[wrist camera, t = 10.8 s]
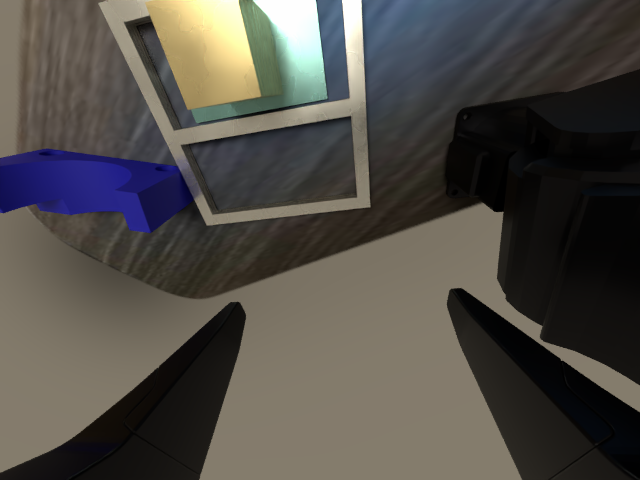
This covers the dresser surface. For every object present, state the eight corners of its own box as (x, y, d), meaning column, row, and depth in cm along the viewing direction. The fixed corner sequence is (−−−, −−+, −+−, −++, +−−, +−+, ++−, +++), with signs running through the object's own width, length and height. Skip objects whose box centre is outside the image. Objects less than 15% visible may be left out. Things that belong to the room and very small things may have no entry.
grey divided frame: (356, -61, 12) (358, -72, 11) (368, 202, 20) (370, 207, 19) (112, 8, 14) (98, 3, 13) (211, 220, 22) (206, 225, 21)
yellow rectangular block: (268, 16, 14) (232, -21, 9) (283, 94, 16) (261, 96, 11) (207, 30, 14) (144, 2, 10) (229, 103, 16) (187, 109, 12)
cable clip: (74, 197, 22) (-4, 228, 17) (49, 148, 20) (-51, 168, 15) (197, 213, 22) (156, 249, 17) (188, 167, 20) (137, 193, 15)
